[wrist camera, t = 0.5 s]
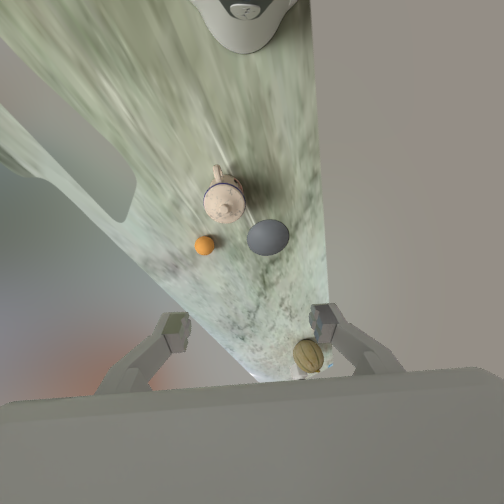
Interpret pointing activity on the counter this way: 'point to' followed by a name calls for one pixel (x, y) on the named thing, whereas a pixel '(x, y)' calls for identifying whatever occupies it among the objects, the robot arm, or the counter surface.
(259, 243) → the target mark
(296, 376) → the medicine bottle
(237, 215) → the teacup with lid
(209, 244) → the ball
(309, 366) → the cantaloupe
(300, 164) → the counter surface
